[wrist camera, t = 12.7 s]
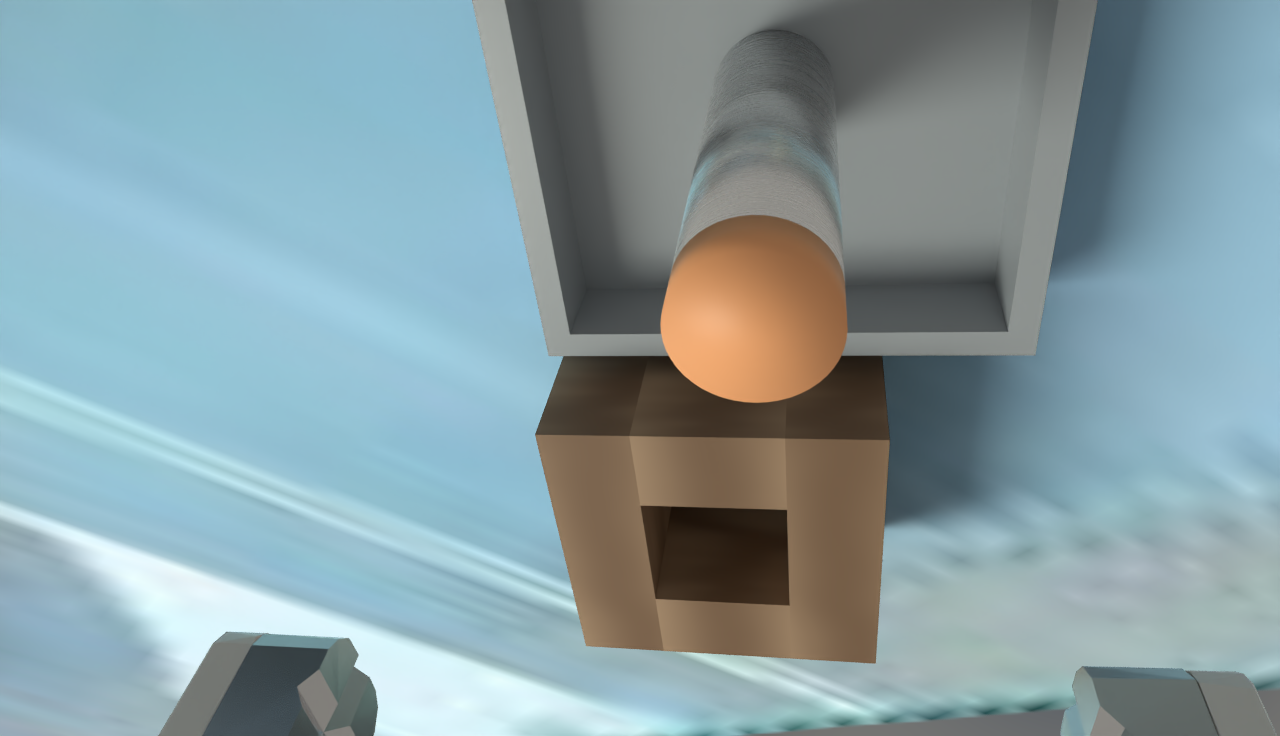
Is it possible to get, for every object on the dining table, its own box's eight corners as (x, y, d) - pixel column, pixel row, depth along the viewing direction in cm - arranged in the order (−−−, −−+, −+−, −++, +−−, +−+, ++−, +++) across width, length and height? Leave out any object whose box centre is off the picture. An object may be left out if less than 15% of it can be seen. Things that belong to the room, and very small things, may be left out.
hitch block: (615, 521, 37) (586, 645, 33) (577, 318, 31) (535, 434, 27) (868, 530, 35) (875, 663, 31) (878, 316, 30) (889, 440, 25)
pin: (717, 149, 26) (670, 402, 17) (709, 34, 24) (650, 253, 15) (833, 143, 25) (846, 402, 16) (834, 25, 23) (849, 247, 15)
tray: (572, 294, 31) (548, 355, 28) (482, -188, 23) (436, -167, 20) (1014, 287, 28) (1035, 355, 25) (1096, -262, 20) (1141, -249, 17)
